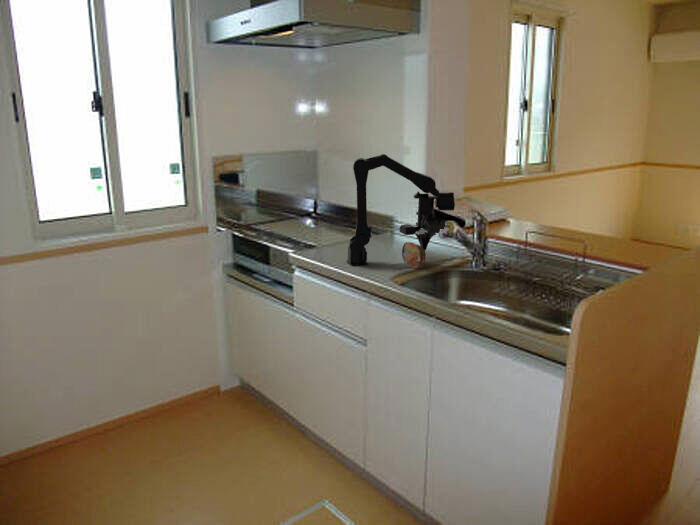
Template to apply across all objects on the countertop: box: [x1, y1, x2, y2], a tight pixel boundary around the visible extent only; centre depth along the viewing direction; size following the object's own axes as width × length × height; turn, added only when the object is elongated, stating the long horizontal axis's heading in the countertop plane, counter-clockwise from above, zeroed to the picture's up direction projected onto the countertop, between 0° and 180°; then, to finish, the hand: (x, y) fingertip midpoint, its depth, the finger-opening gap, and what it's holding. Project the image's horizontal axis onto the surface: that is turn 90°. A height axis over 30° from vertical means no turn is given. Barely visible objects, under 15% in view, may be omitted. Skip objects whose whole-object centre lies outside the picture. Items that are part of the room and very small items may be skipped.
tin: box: [401, 241, 427, 269], centre depth 207 cm, size 15×3×8 cm, turn 21°
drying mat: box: [389, 262, 413, 270], centre depth 206 cm, size 6×6×1 cm
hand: (423, 250), depth 208 cm, fingers closed
